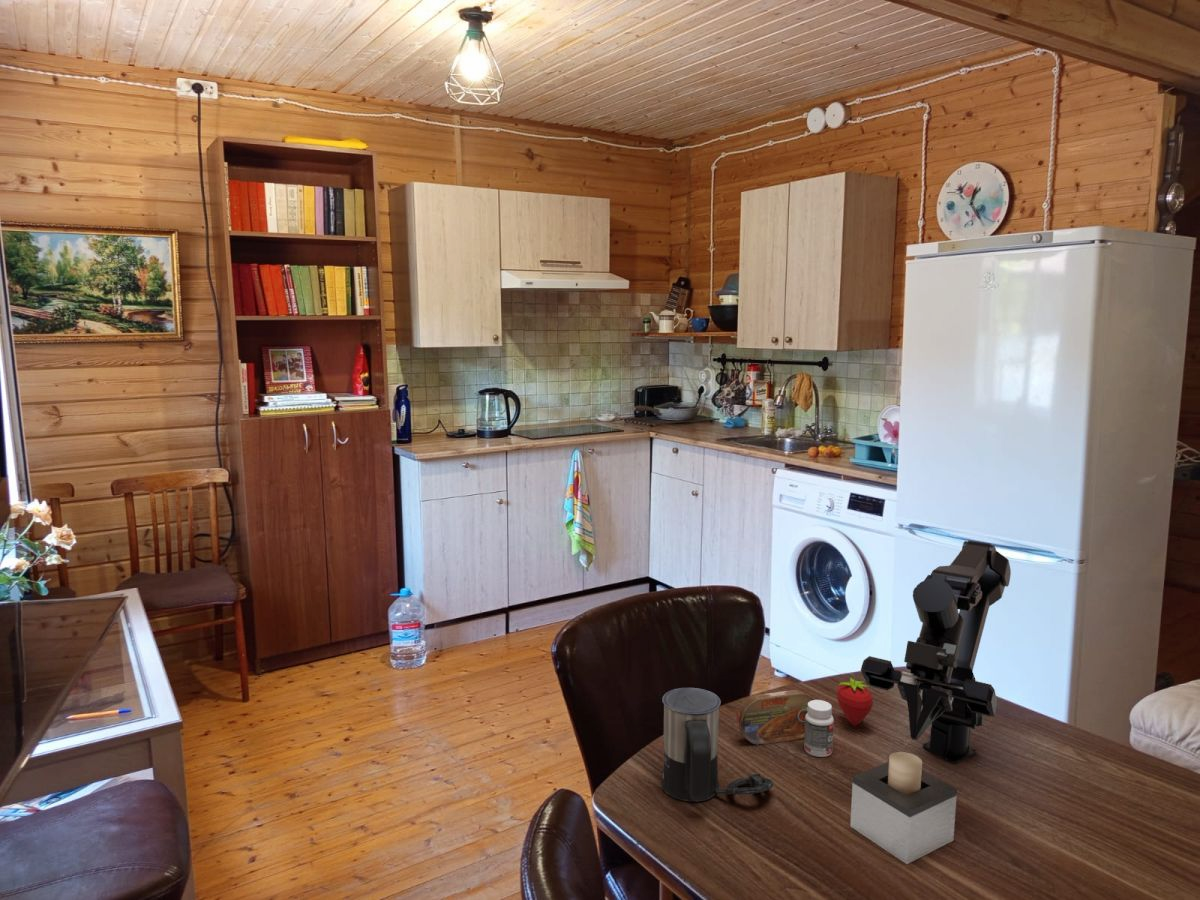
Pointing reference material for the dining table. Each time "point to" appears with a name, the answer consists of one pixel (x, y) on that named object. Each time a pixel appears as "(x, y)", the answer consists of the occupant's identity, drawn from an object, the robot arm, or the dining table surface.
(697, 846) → the dining table surface
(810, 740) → the pill bottle
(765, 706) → the tin
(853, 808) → the collar
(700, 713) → the milk frother
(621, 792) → the dining table surface
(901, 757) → the peg
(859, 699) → the strawberry
